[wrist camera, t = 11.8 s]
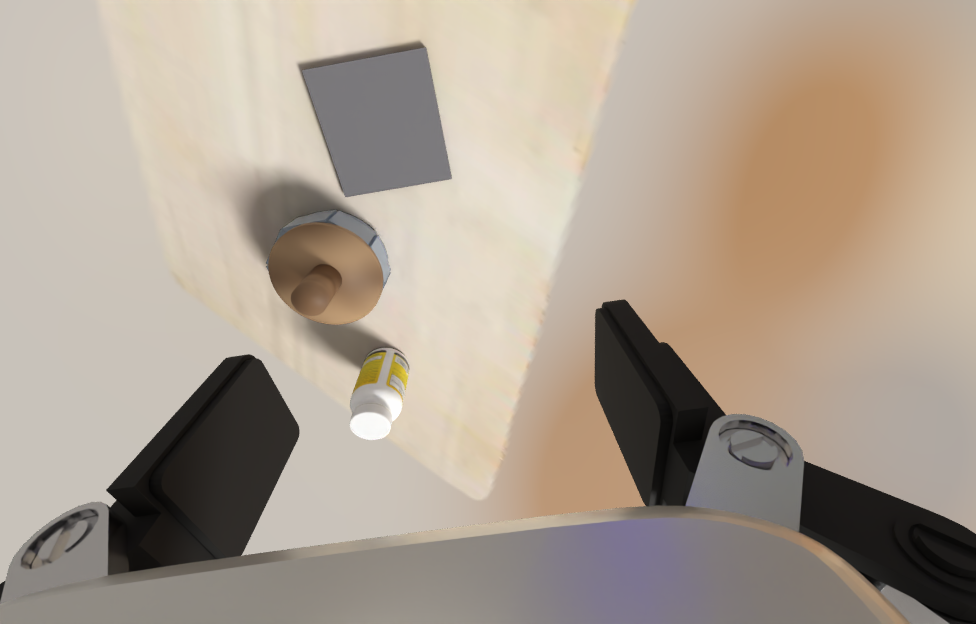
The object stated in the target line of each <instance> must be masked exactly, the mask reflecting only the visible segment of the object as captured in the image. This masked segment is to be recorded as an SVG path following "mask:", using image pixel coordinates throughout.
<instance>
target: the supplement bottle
mask: <svg viewBox="0 0 976 624" xmlns="http://www.w3.org/2000/svg"><path fill="white" fill-rule="evenodd" d="M408 374H409V362H408V360H407V358H406V357H405V356H404V355H403V354H402V353H401V352H399V351H397V350H395V349H392V348H379V349H376V350H373V351H372V352H370V353H369V354H368V355H367V357H366V359H365V361H364V363H363V366H362V369H361V371H360V374H359V377H358V379H357V382H356V385H355V388H354V390H353V393H352V396H351V400H350V408H351V411H352V416H351V420H350V428H351V430H352V432H353V433H354V434H355V435H357V436H358V437H360V438H363V439H367V440H377V439H381V438H383V437H385V436H386V435H387V434H388V433H389V431H390V429H391V425H392V421H393V420H395V419H396V418H397V417H398V415H399V414H400V412H401V409H402V405H403V400H404V395H405V390H406V384H407V379H408Z"/></svg>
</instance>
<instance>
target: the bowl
mask: <svg viewBox="0 0 976 624" xmlns="http://www.w3.org/2000/svg"><path fill="white" fill-rule="evenodd" d="M312 222H324V223H330V224H334V225H338V226H341V227H343V228H346V229H348V230H350V231H351V232H353V233H355V234H356V235H358V236H359V237H361V238H362V239H363V240H364V241H365V242H366V243H367V244H368V245H369V246H370V247H371V248H372V250H373V251H374V253H375V254H376V256H377V258H378V259H379V262H380V264H381V267H382V271H383V279H384V280H383V288H384V286H385V284H386V282H387V279H388V277H389V275H390V270H391V269H390V266H389V263H388V256H387V252H386V249H385V247H384V244H383V242H382V241H381V239H380V237H379V235H377V233H376V231H374V230H373V229H372V228H371V227H370V226H368V225H367V224H366V223H365V222H363V221H362V220H360V219H358V218H356V217H354V216H352V215H349V214H347V213H343V212H342V211H340V210H339V211H336V210H332V211H320V212H316V213H312V214H310V215H307V216H302V217H297V218H296V219H294V220H293V221H292V222H290V223H289V224H287V225H286V226H285V227H283V228H282V229H281V230H280V232H279V234H278V236H277V239H276V241H277V240H278V239H279V238H280V237H281V236H282V235H284V234H285V233H286V232H288V231H289V230H291V229H292V228H294V227H296V226H299V225H301V224H306V223H312ZM276 241H275V243H276ZM275 243H274V244H275ZM269 256H270V255H269ZM268 261H269V257H268V259H267V262H266V264H268ZM266 267H267V269H268V265H267V266H266ZM268 271H269V269H268ZM382 290H383V289H382Z"/></svg>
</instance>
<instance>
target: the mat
mask: <svg viewBox="0 0 976 624" xmlns="http://www.w3.org/2000/svg"><path fill="white" fill-rule="evenodd" d="M302 73H303V76H304V79H305V81H306V84H307V87H308V90H309V93H310V96H311V99H312V102H313V105H314V108H315V111H316V113H317V116H318V119H319V122H320V125H321V128H322V131H323V134H324V137H325V140H326V142H327V145H328V148H329V151H330V154H331V157H332V160H333V163H334V166H335V169H336V172H337V174H338V177H339V180H340V183H341V186H342V189H343V192H344V195H345V197H350V196H356V195H361V194H367V193H373V192H379V191H385V190H390V189H396V188H402V187H408V186H414V185H419V184H425V183H431V182H437V181H443V180H449V179H452V177H451V172H450V167H449V161H448V156H447V151H446V146H445V141H444V136H443V131H442V126H441V121H440V115H439V110H438V105H437V100H436V95H435V90H434V85H433V80H432V75H431V69H430V64H429V59H428V54H427V49H426V47H425V48H419V49H414V50H408V51H403V52H398V53H392V54H387V55H381V56H376V57H371V58H365V59H360V60H354V61H349V62H344V63H338V64H333V65H327V66H322V67H317V68H311V69H306V70H302Z"/></svg>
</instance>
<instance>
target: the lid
mask: <svg viewBox="0 0 976 624" xmlns="http://www.w3.org/2000/svg"><path fill="white" fill-rule="evenodd" d="M268 269H269V275H270V279H271V282H272V284H273V287H274V288H275V290H276V292H277V294H278V295H279V296H280V298H281V299H282V300H283V301H284V302H285V303H286V304H287V305H288V306H289V307H290V308H291V309H293V310H294V311H296V312H297V313H298V314H300V315H302V316H304V317H306V318H308V319H310V320H313V321H316V322H320V323H324V324H346V323H351V322H354V321H357V320H359V319H361V318H363V317H364V316H366V315H367V314H368V313H369V312H370V311H372V309H373V308H374V307H375V306H376V304H377V302H378V300H379V298H380V295H381V293H382V289H383V280H384V279H383V271H382V267H381V264H380V262H379V259H378V258H377V256H376V254H375V253H374V251H373V250H372V248H371V247H370V246H369V245H368V244H367V243H366V242H365V241H364V240H363V239H362V238H361V237H359V236H358V235H356V234H355V233H353V232H351V231H350V230H348V229H346V228H343V227H341V226H338V225H334V224H330V223H324V222H312V223H306V224H301V225H299V226H296V227H294V228H292V229H291V230H289V231H288V232H286V233H285V234H284V235H282V236H281V237H280V238H279V239H278V240H277V241H276V243H275V244H274V246H273V248H272V250H271V252H270V256H269V261H268Z"/></svg>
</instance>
